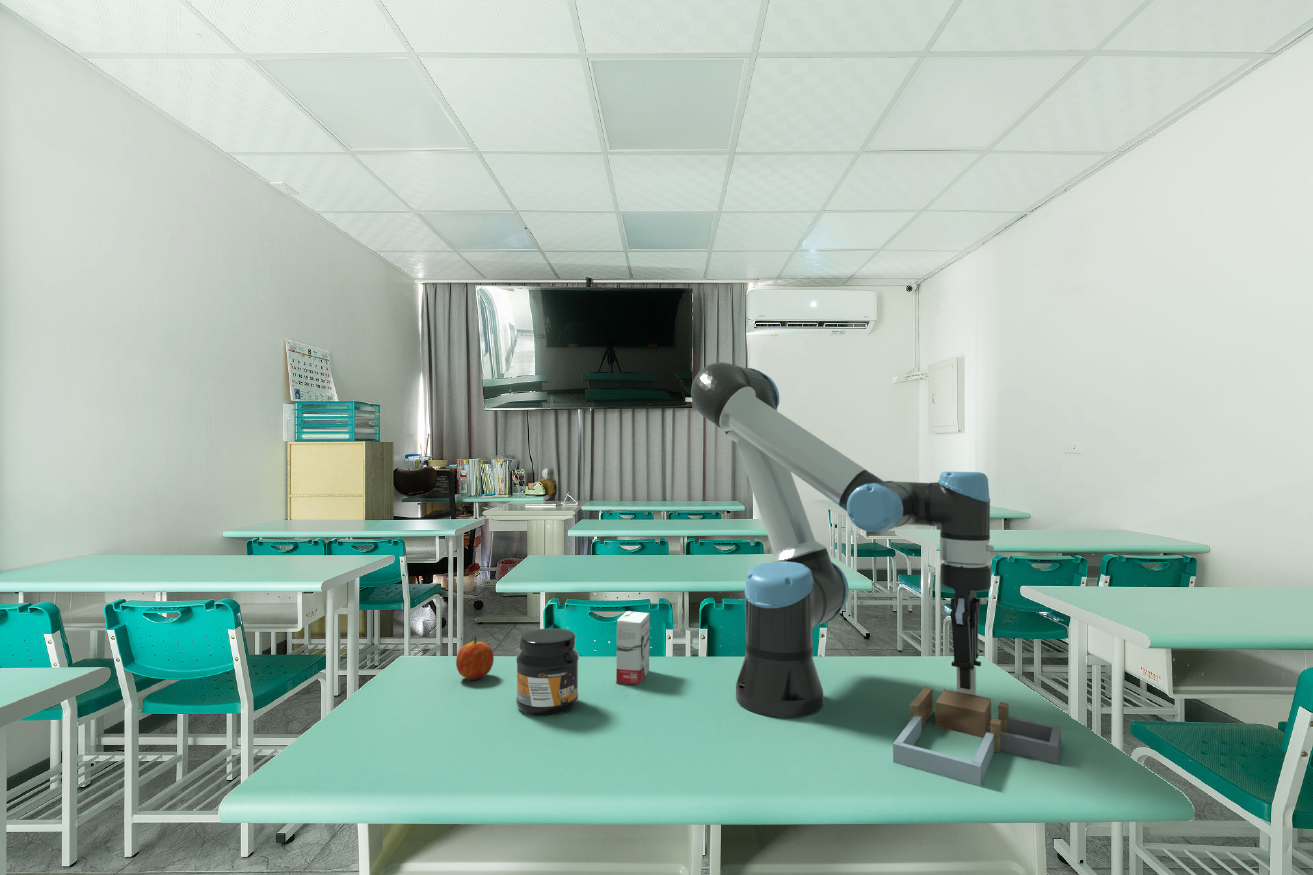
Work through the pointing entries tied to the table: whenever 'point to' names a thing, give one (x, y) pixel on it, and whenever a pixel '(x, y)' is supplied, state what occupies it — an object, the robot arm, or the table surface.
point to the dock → (942, 756)
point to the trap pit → (1032, 739)
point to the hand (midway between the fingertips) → (966, 705)
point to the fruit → (474, 660)
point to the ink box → (632, 647)
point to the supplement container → (547, 672)
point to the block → (963, 713)
